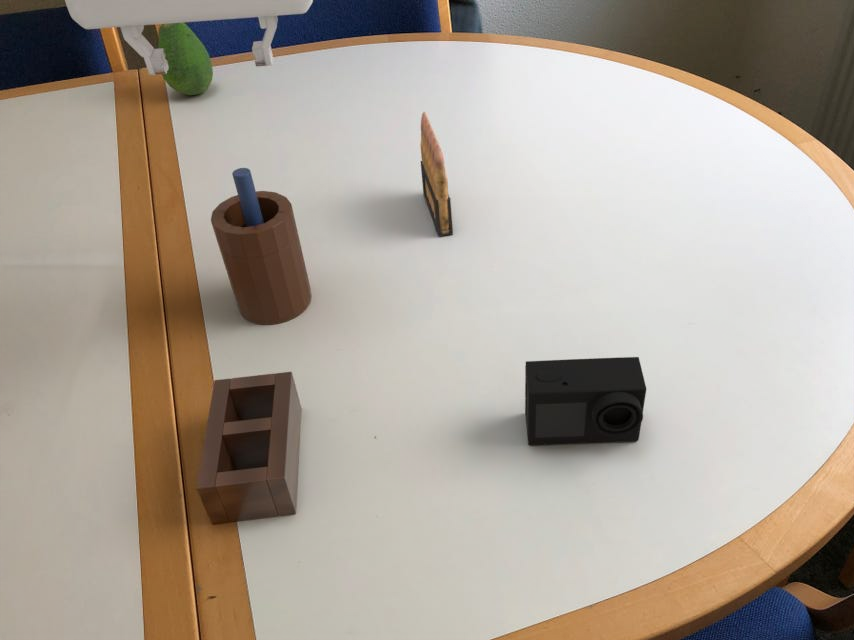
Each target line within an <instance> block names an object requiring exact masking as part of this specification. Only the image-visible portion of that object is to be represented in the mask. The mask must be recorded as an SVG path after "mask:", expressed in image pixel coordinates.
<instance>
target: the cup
mask: <svg viewBox="0 0 854 640" xmlns="http://www.w3.org/2000/svg"><path fill="white" fill-rule="evenodd" d="M255 191H256V190H255ZM256 194H257V198H258V202H259V206H260V210H261V214H262V218H263V221H264V223H263V224H260V225H257V226H250V227H247V226H246V222H245V218H244V215H243V211H242V208H241V204H240V200H239V197H238V194H237V195H233V196H231V197H229V198H227V199H225V200H223V201H222V202H220V203H219V204H218V205H217V206H216V207H215V208H214V209H213V210H212V212H211V216H210V222H211V226H212V229H213V233H214V236H215V239H216V241H217V242H216V243H217V245H218V248H219V252H220V254H221V257H222V261H223V265H224V267H225V270H226V274H227V277H228V280H229V283H230V287H231V290H232V293H233V296H234V299H235V303H236V306H237V307H238V311H239V312H240V315H241V316H242V317H243V319H245V320H247V321H248V322H251V323H253V324H258V325H268V326H269V325H279V324H282V323H285V322H289V321H291V320H293V319H295V318H297V317H298V316H299V317H300V316H301V314H303V313H304V312H305V311H306V310H307V309H308V308H309V306H310V304H311V302H312V292H311V291H312V289H311V284H310V279H309V276H308V272H307V266H306V263H305V258H304V253H303V249H302V245H301V239H300V236H299V231H298V228H297V223H296V218H295V214H294V210H293V204H292V203H291V202H290V200H289V199H288V197H287V196H285V195H282V194H280V193H278V192H275V191H267V190H258V191H256Z"/></svg>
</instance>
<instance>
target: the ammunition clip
mask: <svg viewBox="0 0 854 640" xmlns="http://www.w3.org/2000/svg"><path fill="white" fill-rule="evenodd" d="M420 154H421V156H420V157H421V160H420V171H421V179H422V180H421V183H422V193H423V197H424V200H425V203H426V205H427V209H428V211H429V214H430V217H431V220H432V223H433V225H434V228H435V232H436V234H437V237H438V238H441V237H447V236H453V235H454V229H453V217H452V202H451V198H450V197H451V196H450V195H449V185H448V176H447V173H446V166H445V159H444V154H443V151H442V148H441V146H440V144H439V141H438V139H437V137H436V134H435V132H434V128H433V127H432V125H431V122H430V120H429V118H428V115H427V113H426V112H425V111H422V114H421V118H420Z"/></svg>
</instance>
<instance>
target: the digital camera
mask: <svg viewBox="0 0 854 640" xmlns="http://www.w3.org/2000/svg"><path fill="white" fill-rule="evenodd" d="M524 368H525V373H524V375H525V376H524V377H525V379H524V380H525V381H524V397H525V399H524V415H525V425H526V434H527V445H528V446H543V445H544V446H546V445H574V444H599V443H602V444H603V443H621V442H623V443H625V442H639V439H640V434H641V428H642V427H641V426H642V422H643V420H644V407H645V402H646V396H647V386H646V382H645V377H644V372H643V369H642V365H641V360H640V357H639V356H625V357H624V356H622V357H621V356H620V357H598V358H593V357H592V358H570V359H569V358H568V359H549V360H547V359H546V360H530V361H529V360H527V361H525V365H524Z"/></svg>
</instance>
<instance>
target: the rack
mask: <svg viewBox="0 0 854 640" xmlns="http://www.w3.org/2000/svg"><path fill="white" fill-rule="evenodd" d="M213 381H214V382H213V387H212V393H211V398H210V399H211V400H210V405H209V411H208V415H207V423H206V429H205V434H204V439H203V440H204V441H203V447H202V451H201V452H202V453H201V457H200V465H199V470H198V476H197V482H196V487H195V488H196V489H195V490H196V491H197V493H198V496H199V498H200V501H201V503H202V504H203V507H204V510H205V511H206V514H207V516H208V518H209V520H210V523H211V525H218V524H226V523H233V522H241V521H250V520H259V519H265V518H274V517H281V516H282V517H283V516H290V515H296V514H297V503H298V487H299V483H298V482H299V464H300V445H301V444H300V443H301V423H302V405H301V400H300V397H299V394H298V390H297V386H296V383H295V378H294V375H293V372H292V371H283V372H276V373H274V372H273V373H266V374H257V375H249V376H239V377H231V378H223V379H222V378H221V379H215V380H213Z"/></svg>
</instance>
